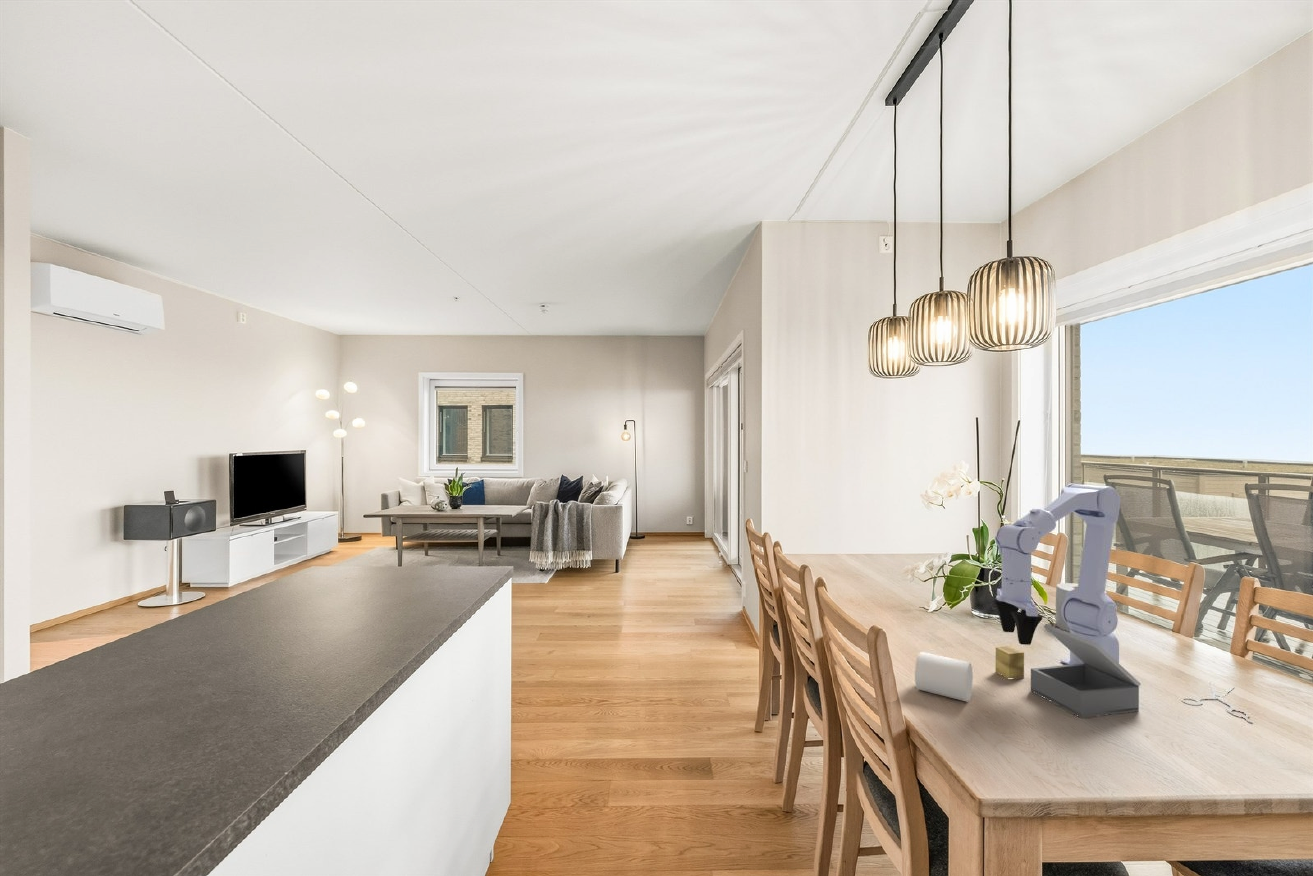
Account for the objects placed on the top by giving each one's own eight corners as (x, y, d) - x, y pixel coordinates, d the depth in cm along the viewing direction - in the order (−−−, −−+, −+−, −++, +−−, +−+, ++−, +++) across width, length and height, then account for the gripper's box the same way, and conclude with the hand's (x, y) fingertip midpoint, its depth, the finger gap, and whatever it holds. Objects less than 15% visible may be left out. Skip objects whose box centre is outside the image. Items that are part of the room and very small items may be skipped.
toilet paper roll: (1059, 631, 162) (1059, 591, 162) (1052, 619, 172) (1052, 581, 172) (1112, 638, 156) (1112, 596, 156) (1101, 625, 167) (1101, 585, 167)
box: (1084, 685, 128) (1084, 663, 128) (1138, 711, 116) (1138, 687, 116) (1030, 691, 125) (1030, 668, 125) (1080, 718, 113) (1081, 693, 113)
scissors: (1179, 703, 119) (1190, 674, 132) (1179, 707, 119) (1190, 678, 132) (1252, 722, 111) (1256, 689, 124) (1252, 726, 111) (1256, 693, 124)
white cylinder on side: (965, 708, 118) (966, 669, 118) (914, 694, 124) (914, 658, 124) (975, 687, 127) (976, 651, 127) (927, 675, 134) (927, 641, 133)
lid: (1084, 663, 128) (1086, 660, 128) (1138, 687, 116) (1140, 683, 116) (1043, 626, 126) (1045, 623, 126) (1095, 647, 114) (1097, 643, 114)
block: (1010, 671, 136) (1010, 646, 136) (1023, 678, 132) (1024, 652, 132) (995, 672, 135) (995, 647, 135) (1008, 679, 131) (1009, 653, 131)
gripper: (983, 570, 137) (983, 626, 138) (1013, 586, 123) (1013, 649, 123) (1015, 570, 136) (1015, 627, 137) (1048, 587, 122) (1048, 650, 122)
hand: (1016, 637), depth 130 cm, fingers open, 7 cm apart
